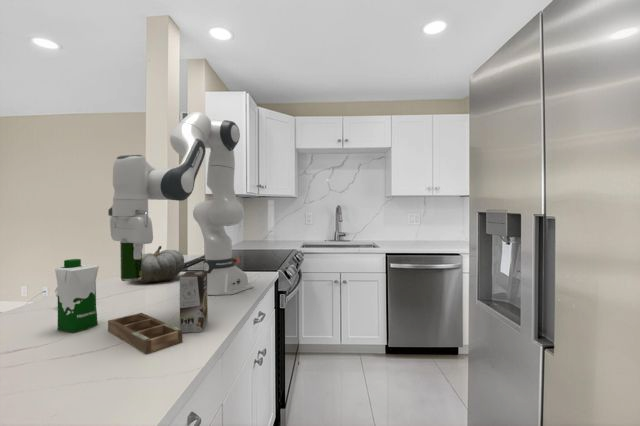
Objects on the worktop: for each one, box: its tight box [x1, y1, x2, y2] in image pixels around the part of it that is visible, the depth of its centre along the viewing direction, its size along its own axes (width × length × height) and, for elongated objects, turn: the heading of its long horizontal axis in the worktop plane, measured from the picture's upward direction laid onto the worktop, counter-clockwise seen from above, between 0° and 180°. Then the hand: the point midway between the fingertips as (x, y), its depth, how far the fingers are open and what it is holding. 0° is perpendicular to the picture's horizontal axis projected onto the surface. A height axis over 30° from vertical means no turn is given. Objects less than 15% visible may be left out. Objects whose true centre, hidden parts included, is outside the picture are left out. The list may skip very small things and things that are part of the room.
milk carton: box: [54, 258, 100, 334], centre depth 97 cm, size 9×9×20 cm
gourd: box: [137, 245, 185, 284], centre depth 161 cm, size 25×25×17 cm
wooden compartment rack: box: [107, 312, 183, 355], centre depth 90 cm, size 9×24×3 cm, turn 52°
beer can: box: [119, 239, 143, 282], centre depth 94 cm, size 5×5×12 cm
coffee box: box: [179, 270, 209, 334], centre depth 97 cm, size 9×6×16 cm
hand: (131, 257), depth 94 cm, fingers closed on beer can, 5 cm apart
